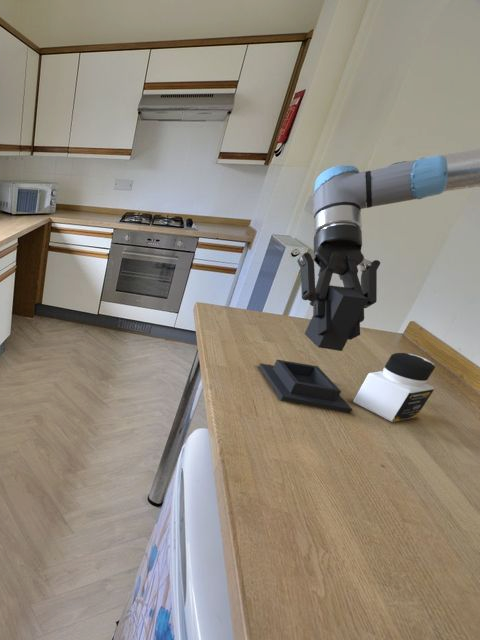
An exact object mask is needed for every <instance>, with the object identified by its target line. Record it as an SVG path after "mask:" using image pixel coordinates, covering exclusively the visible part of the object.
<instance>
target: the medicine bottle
mask: <svg viewBox="0 0 480 640" xmlns="http://www.w3.org/2000/svg"><path fill="white" fill-rule="evenodd" d="M435 369H436V366H435V364H434V363H433V362H432V361H430V360H429V359H427V358H425V357H422V356H420V355H416V354H413V353H408V352H395V353H392V354H391V355H390V357H389V358H388V360H387V362H386V363H385V365H384V367H383V368H382V370H381V371H373V372H368V374H367V375H366V378H365V379H364V380H363V382H362V384H361V386H360V388H359V389H358V392H357V394H356V395H355V397H354V399H353V403H354V404H356V405H357V406H360V407H362V408H364V409H365V410H368V411H369V412H372V413H374V414H375V415H377V416H379V417H381V418H383V419H385V420H387V421H388V422H391V423H393V422H400V421H403V420H409V419H410V420H411V419H413V418H414V419H415V418H417V416H418V415H419V414H420V412H421V410H422V409H423V408H424V406H425V405H426V403H427V401H428V400H429V398H430V397H431V395H432V394H433V392H434V391H435V386H432V385H431V384H428V383H427V381H428V380H429V378H430V376H431V375H432V373H433V372H434V371H435Z"/></svg>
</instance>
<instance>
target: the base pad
mask: <svg viewBox="0 0 480 640" xmlns="http://www.w3.org/2000/svg"><path fill="white" fill-rule="evenodd" d="M258 368H259V370H260V371H261V373H262V374H263V375H264V377H265V379H266V380H267V382H268V383H269V385H270V386H271V388H272V389H273V391H274V392H275V394H276V396H277V397H278V398H279V400H280V401H282V402H287V403H293V404H297V405H304V406H309V407H313V408H314V407H315V408H321V409H325V410H331V411H336V412H342V413H347V414H351V413H352V411H353V408H352V407H351V406H350V405H349V404H348V403H347V401H346V400H345V399H344V398H342V396H341V392H342V391H341V389H340V388H339V387H338V386H337V385H336V384H335V383H334V382H333V381H332V380H331V379H330V377H329V376H327V374H325V372H324V371H323V370H322V369H321V368H320V367H319V366H318V365H312V364H308V363H307V364H306V363H301V362H295V361H289V360H282V359H275V363H274V365H272V364H267V363H259V365H258Z"/></svg>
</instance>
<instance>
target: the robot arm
mask: <svg viewBox="0 0 480 640" xmlns="http://www.w3.org/2000/svg"><path fill="white" fill-rule="evenodd" d="M470 188H471V189H472V188H480V147H479V148H474V149H467V150H463V151H458V152H452V153H447V154H437V155H432V156H428V157H421V158H417V159H413V160H404V161H399V162H398V161H397V162H394V163H391V164H390V165H387V166H384V167H380V168H376V169H372V170H366V171H360V170H359V169H358V167H356V166H354V165H351V164H348V165H343V164H340V165H334V166H333V167H330V168H327V169H326V170H324V171H322V172H321V173H320V174H319V175H317V178H316V179H315V181H314V190H313V253H309V252H304V253H303V254H302V255H301V256H300V257H299V258H297V260H296V261H297V264H298V266H299V268H300V286H301V300H303V301H310V302H309V305H310V306H311V307H312V317H313V316H314V317H315V318H318V335H324V334H326V333H328V332H329V331H331V300H324V299H326V296H327V292H328V289H329V285H331V281H332V277H333V274H336V275H338V278H339V280H340V281H342V284H343V287H347V288H351V289H353V290H354V291H356V292H358V293H360V294H361V295H363V296H365V297H366V298H368V301H367V303H366V305H365V307H364V309H363V311H362V313H361V315H360V317H359V319H358V321H357V323H356V325H355V327H354V328H353V330H352V332H351V334H350V336H349V338H348V340H350V341H351V340H353V339H355V338H357V337H359V336H361V323H362V322H364V321H365V309H367V308H369V307H371V306H373V305H374V304H376V303H377V300H378V296H377V295H378V294H377V291H378V287H377V286H378V285H377V283H378V282H377V277H378V273H377V272H378V269H379V267H380V265H381V261H380V260H378V259H375V260H369V259H366V258H365V256H364V254H363V253H362V247H363V231H362V226H363V225H362V223H363V222H362V210H363V209H369V208H372V207H378V206H384V205H390V204H391V205H392V204H396V203H402V202H407V201H412V200H422V199H425V198H428V197H433V196H437V195H441V194H443V193H444V192H450V191H457V190H464V189H465V190H466V189H470ZM315 264H316V265H317V266H318V267H319V270H318V274H317V277H318V278H317V281H316V275H315V274H316V273H315V271H316V270H315ZM358 266H360V272H361V275H360V279H359V276H358V273H359V268H358Z"/></svg>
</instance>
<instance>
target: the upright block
mask: <svg viewBox="0 0 480 640" xmlns="http://www.w3.org/2000/svg"><path fill="white" fill-rule="evenodd" d="M324 300H331V331H329V332H328V333H326V334H324V335H318V318H315V317H314V316H313V315H312V317H311V319H310V320H309V323H308V325H307V327H306V330H305V331H304V335H305V336H306V337H307V338H308V339H309V340H310V341H311V342H312V343H313V344H314V345H315V346H316V347H317V348H319V349H326V350H332V351H338V352H339V351H340V352H342V351H344V348H345V346H346V344H347V342H348V340H349V339H348V338H349V336H350V334H351V332H352V330H353V328H354V327H355V325H356V323H357V321H358V319H359V317H360V315H361V313H362V311H363V309H364V310H365V308H364V307H365V305H366V303H367V301H368V298H366V297H365V296H363V295H361V294H360V293H358V292H356V291H354V290H353V289H351V288H347V287H344V286H340V285H331V284H330V285H329V289H328V292H327V296H326V299H324Z"/></svg>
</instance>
